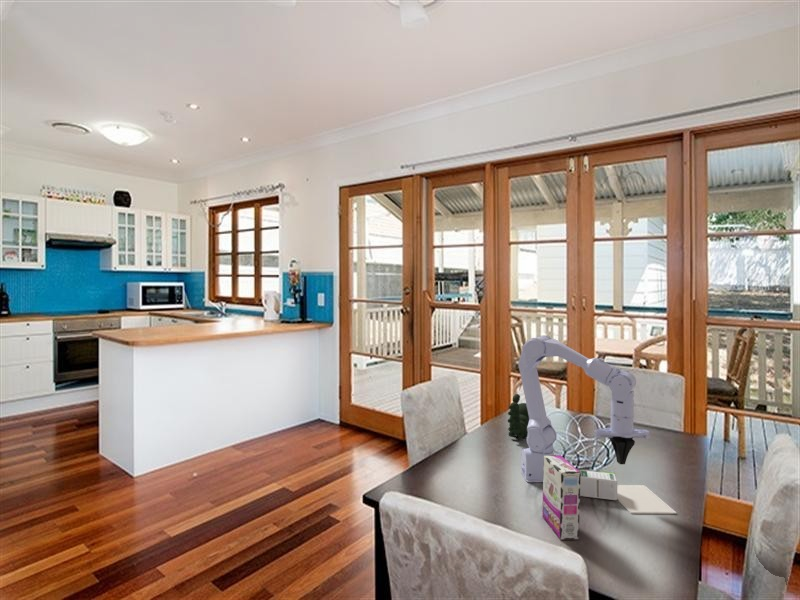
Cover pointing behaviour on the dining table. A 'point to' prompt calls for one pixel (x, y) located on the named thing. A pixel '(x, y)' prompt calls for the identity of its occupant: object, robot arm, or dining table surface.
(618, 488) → the cream white mat
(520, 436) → the dark green lumpy piece
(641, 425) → the dining table surface
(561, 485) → the candy bar box
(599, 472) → the syrup box
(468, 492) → the dining table surface
